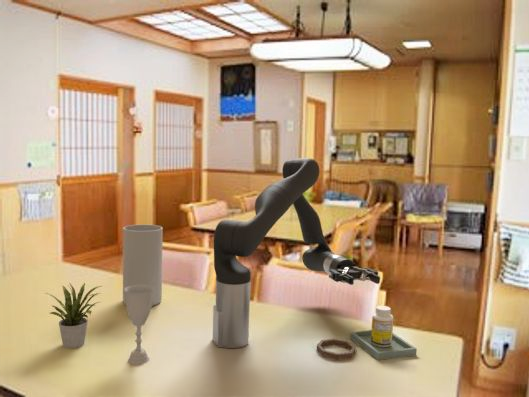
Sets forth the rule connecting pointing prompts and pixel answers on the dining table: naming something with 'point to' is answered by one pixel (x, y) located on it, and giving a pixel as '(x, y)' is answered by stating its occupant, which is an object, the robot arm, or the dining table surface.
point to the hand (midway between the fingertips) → (365, 280)
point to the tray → (394, 351)
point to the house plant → (73, 317)
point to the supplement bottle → (382, 327)
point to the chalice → (138, 316)
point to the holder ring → (332, 354)
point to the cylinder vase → (143, 259)
